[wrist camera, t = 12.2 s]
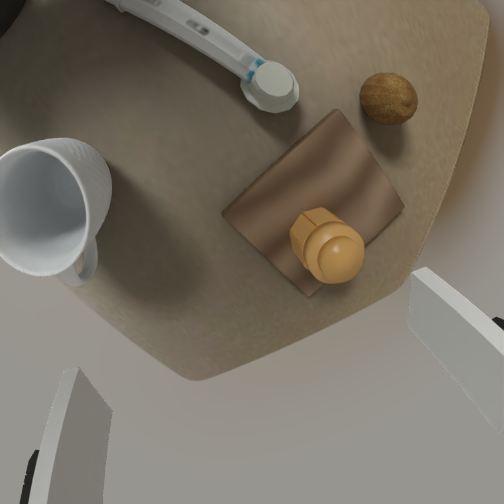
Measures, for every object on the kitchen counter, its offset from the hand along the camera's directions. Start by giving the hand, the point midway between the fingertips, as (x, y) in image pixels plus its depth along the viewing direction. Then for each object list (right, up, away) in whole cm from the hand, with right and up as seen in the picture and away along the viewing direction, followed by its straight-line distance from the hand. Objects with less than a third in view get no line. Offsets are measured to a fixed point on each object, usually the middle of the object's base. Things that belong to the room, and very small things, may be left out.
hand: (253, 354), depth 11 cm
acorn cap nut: (+8, +6, +27) cm, 29 cm away
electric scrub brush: (-6, +27, +17) cm, 32 cm away
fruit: (+14, +22, +23) cm, 35 cm away
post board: (+8, +9, +27) cm, 30 cm away
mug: (-20, +11, +21) cm, 31 cm away
